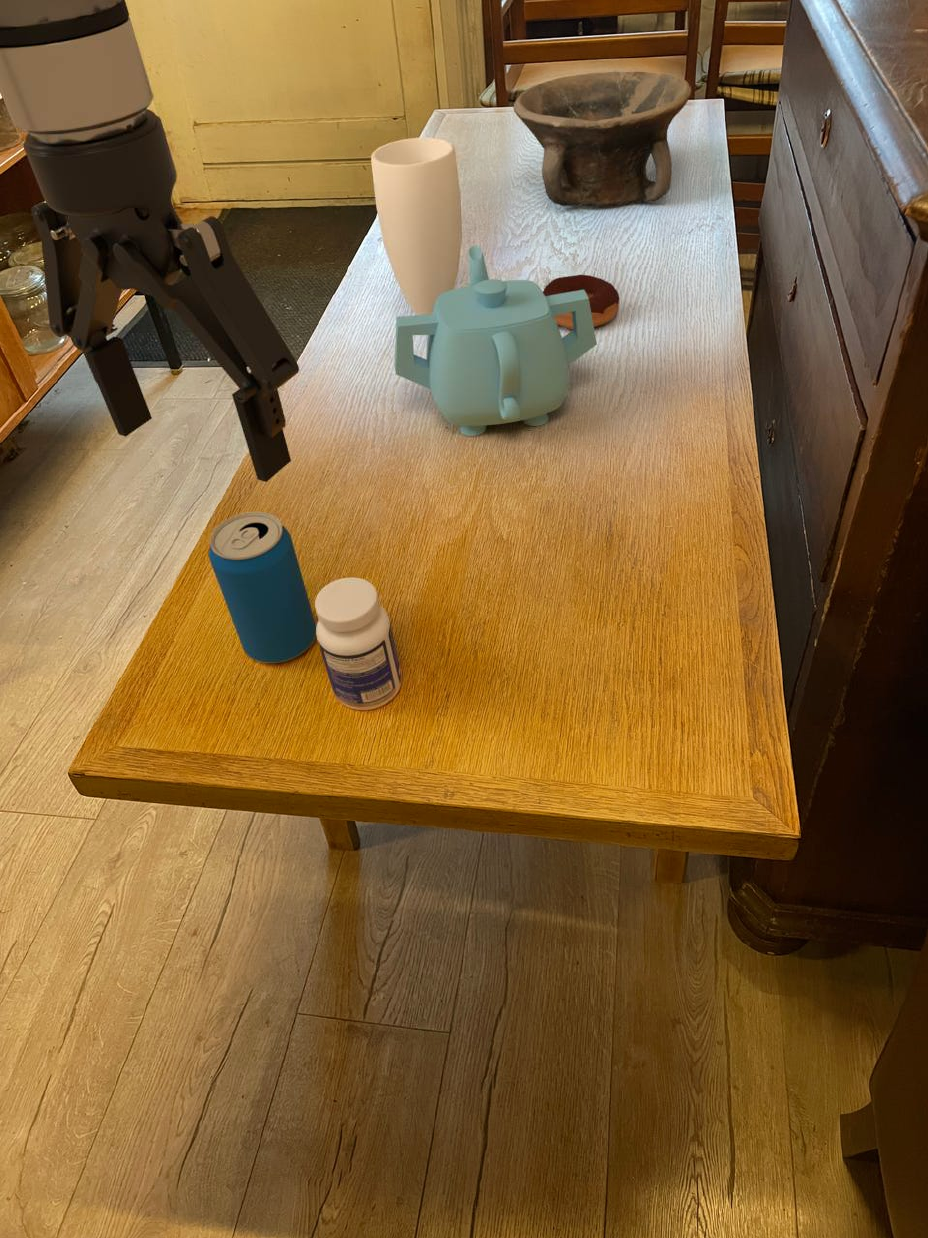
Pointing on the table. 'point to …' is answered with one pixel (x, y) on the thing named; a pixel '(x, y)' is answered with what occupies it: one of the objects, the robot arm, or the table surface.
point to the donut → (598, 293)
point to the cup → (419, 216)
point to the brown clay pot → (604, 135)
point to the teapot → (495, 350)
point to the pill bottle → (357, 644)
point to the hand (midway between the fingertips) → (202, 447)
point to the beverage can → (262, 586)
